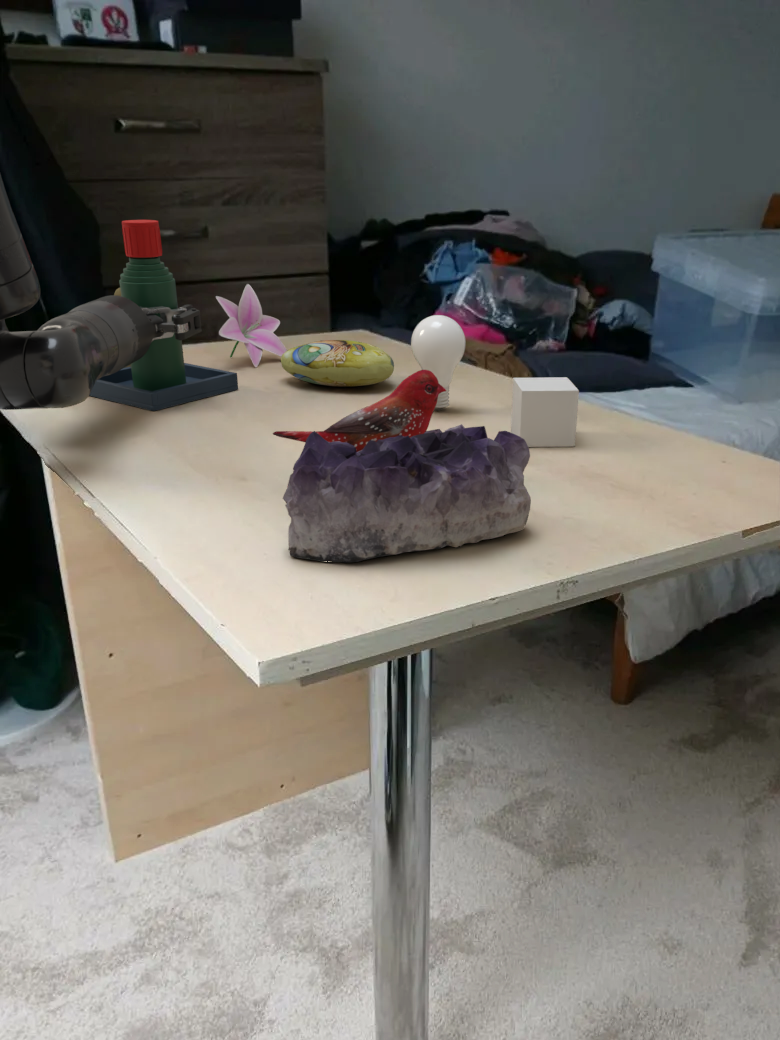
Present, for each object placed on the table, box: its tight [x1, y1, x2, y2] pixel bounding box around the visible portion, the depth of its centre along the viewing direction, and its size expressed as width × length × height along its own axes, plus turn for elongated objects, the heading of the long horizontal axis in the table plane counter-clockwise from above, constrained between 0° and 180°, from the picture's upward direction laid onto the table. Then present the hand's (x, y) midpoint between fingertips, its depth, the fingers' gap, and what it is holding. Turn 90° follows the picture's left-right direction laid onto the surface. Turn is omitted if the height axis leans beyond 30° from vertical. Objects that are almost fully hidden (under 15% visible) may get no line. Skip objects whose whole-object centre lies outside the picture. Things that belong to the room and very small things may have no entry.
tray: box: [89, 362, 239, 412], centre depth 119 cm, size 14×14×2 cm
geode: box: [282, 423, 532, 564], centre depth 75 cm, size 20×12×10 cm, turn 119°
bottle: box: [118, 256, 186, 392], centre depth 114 cm, size 6×6×19 cm
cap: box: [121, 219, 163, 258], centre depth 111 cm, size 4×4×4 cm
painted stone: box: [280, 339, 395, 388], centre depth 123 cm, size 11×8×15 cm
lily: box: [215, 283, 288, 368], centre depth 135 cm, size 12×12×10 cm
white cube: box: [510, 376, 580, 448], centre depth 101 cm, size 6×6×6 cm
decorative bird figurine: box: [272, 369, 446, 452], centre depth 86 cm, size 3×18×10 cm, turn 122°
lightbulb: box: [410, 314, 467, 412], centre depth 110 cm, size 6×6×11 cm
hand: (156, 312), depth 117 cm, fingers open, 8 cm apart
